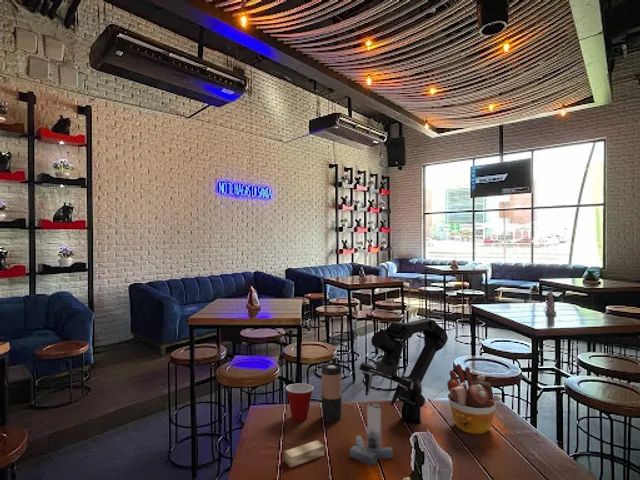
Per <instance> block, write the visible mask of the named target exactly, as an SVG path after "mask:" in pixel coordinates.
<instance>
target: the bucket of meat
mask: <svg viewBox="0 0 640 480" xmlns="http://www.w3.org/2000/svg"><path fill="white" fill-rule="evenodd" d="M455 368H456V372H457V374H456V372H455V371H454V370H450V371H449V376H450V379H448V381H447V390H448V391H449V393H448V394H447V398H448V401H449V406H450V410H451V415H452V419H453V422H454V425H456V427H457V428H458V429H459V430H460V429H461V430H460V431H462V432H464V433H466V432H467V433H466V434H472V435H483V434H484V435H485V434H486V433H487V432H488V431H489V430H490V429H491V428H492V423H493V420H494V416H495V411H496V407H497V401H498V402H499V401H501V400H502V397H500V396H499V395H497V394H493V392H494V391H493V388H492V382H488V381H485V379H487V377H486V375H484V374H480V375H477V377H476V379H477V380H473V378H472V373H471V368H470V367H468V366H466V367H465V368H464V371H465V375H464V372H463V368H462V365H461V364H459V363H457V364H456V367H455ZM457 375H458V377H457ZM465 376H466V380H465ZM466 381H467V384H466ZM467 387H468V388H467Z"/></svg>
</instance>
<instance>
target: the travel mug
mask: <svg viewBox="0 0 640 480" xmlns="http://www.w3.org/2000/svg"><path fill="white" fill-rule="evenodd" d="M321 417H322V420H323V421H325V422H326V423H336V422H340V421H341V420H342V365H341V364H340V363H338V362H328V363H327V364H324V363H322V365H321Z"/></svg>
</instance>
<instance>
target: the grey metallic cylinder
mask: <svg viewBox="0 0 640 480" xmlns="http://www.w3.org/2000/svg"><path fill="white" fill-rule="evenodd" d="M370 448H382V406H381V405H380V404H378V403H369V404H367V405H366V449H370Z"/></svg>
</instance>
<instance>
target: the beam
mask: <svg viewBox="0 0 640 480" xmlns="http://www.w3.org/2000/svg"><path fill="white" fill-rule="evenodd" d="M283 453H284V462H285V463H286V465H287V466H289V468H293V467H296V466H299V465H302V464H304V463H307V462H310V461H313V460H315V459H318V458H321V457H323V456H325V445H324V444H323V443H322V442H320V441H319V439H316V440H314V441H311V442H307V443H305V444H302V445H299V446H296V447H293V448H290V449H287V450H284V452H283Z"/></svg>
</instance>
